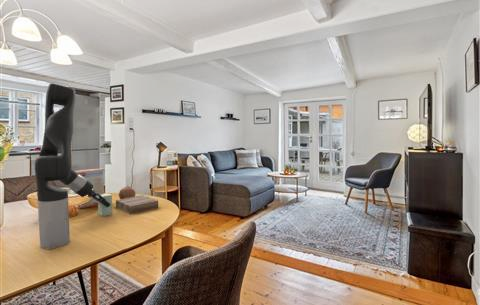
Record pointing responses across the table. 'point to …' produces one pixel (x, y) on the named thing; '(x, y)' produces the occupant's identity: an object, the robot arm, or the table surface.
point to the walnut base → (136, 204)
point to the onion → (126, 193)
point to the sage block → (102, 208)
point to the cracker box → (98, 184)
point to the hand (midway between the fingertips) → (106, 204)
